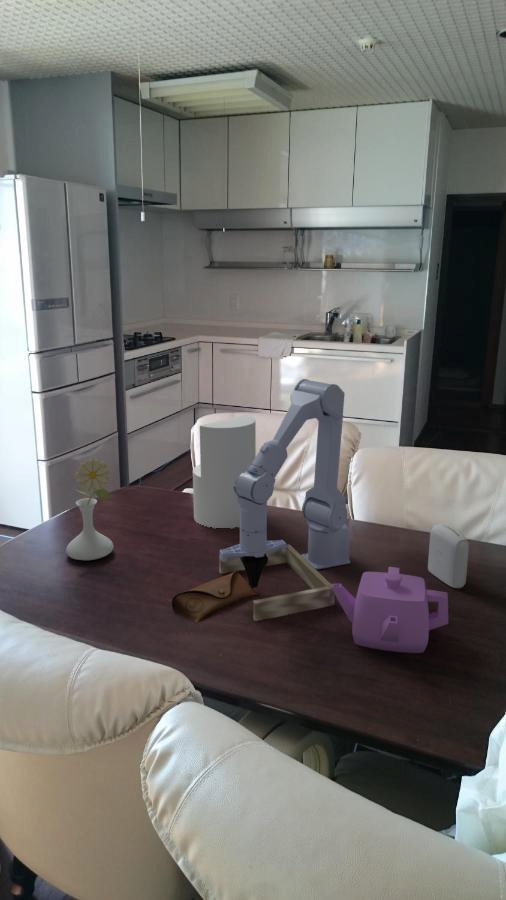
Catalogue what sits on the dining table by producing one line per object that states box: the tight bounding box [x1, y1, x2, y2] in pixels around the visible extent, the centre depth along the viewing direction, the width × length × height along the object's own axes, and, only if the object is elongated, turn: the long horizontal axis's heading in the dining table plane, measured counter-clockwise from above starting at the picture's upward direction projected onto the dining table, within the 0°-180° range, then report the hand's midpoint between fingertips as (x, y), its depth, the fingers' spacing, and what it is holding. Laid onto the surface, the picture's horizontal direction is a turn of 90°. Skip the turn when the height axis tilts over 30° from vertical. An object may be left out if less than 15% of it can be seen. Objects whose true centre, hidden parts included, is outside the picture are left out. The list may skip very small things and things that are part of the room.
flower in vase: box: [65, 458, 115, 561], centre depth 154 cm, size 13×11×25 cm
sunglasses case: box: [171, 570, 260, 623], centre depth 136 cm, size 18×7×7 cm, turn 133°
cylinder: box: [192, 414, 257, 529], centre depth 177 cm, size 17×17×28 cm
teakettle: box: [331, 566, 449, 654], centre depth 123 cm, size 17×17×12 cm
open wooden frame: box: [218, 544, 336, 622], centre depth 141 cm, size 18×23×4 cm
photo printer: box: [427, 523, 470, 589], centre depth 144 cm, size 10×4×12 cm, turn 20°
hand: (253, 585), depth 140 cm, fingers closed
